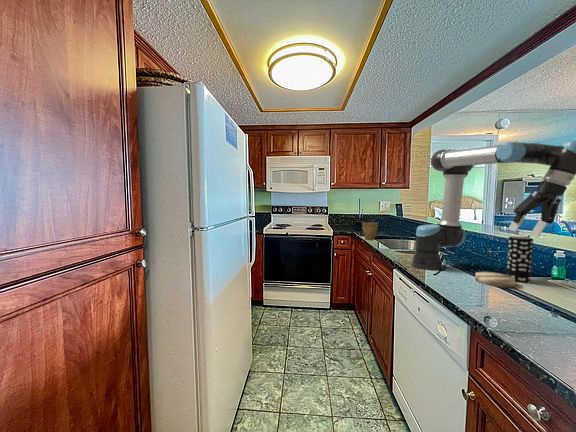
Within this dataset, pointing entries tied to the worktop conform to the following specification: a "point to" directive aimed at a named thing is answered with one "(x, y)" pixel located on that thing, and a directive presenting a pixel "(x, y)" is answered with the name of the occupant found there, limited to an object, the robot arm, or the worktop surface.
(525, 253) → the spotted tube
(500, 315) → the worktop surface
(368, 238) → the plant pot
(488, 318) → the worktop surface
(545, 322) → the worktop surface
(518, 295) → the worktop surface
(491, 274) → the maple plinth
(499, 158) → the robot arm
